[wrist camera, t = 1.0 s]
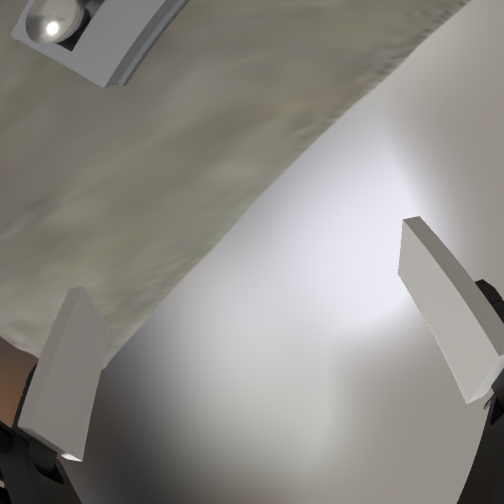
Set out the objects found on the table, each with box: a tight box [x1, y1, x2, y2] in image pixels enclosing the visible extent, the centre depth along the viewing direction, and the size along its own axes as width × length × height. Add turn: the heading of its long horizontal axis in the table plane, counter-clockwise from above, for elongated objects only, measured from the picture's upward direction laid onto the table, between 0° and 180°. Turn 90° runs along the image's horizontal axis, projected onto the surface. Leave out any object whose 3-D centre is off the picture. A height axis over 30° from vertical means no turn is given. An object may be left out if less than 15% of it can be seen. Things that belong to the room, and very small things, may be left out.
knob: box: [25, 0, 90, 44], centre depth 18 cm, size 5×5×6 cm
